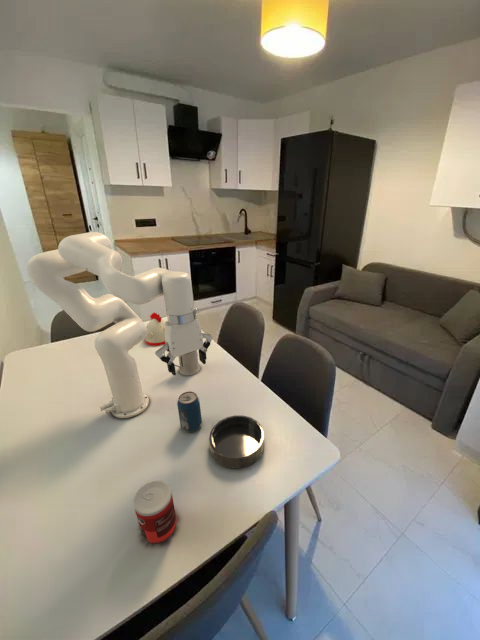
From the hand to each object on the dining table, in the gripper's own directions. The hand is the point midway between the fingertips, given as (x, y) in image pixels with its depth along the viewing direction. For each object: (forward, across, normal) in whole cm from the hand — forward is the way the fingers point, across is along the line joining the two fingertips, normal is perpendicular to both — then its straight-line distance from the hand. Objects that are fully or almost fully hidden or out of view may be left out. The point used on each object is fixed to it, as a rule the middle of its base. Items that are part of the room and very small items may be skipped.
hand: (188, 367), depth 88 cm
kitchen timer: (+22, -10, -66) cm, 70 cm away
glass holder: (+23, -9, -31) cm, 39 cm away
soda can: (+23, +2, 0) cm, 23 cm away
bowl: (+23, -6, +16) cm, 29 cm away
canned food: (+23, +21, +25) cm, 40 cm away
